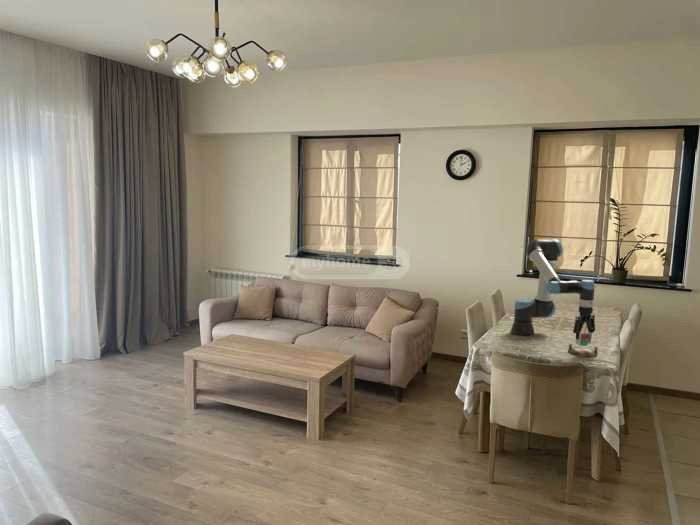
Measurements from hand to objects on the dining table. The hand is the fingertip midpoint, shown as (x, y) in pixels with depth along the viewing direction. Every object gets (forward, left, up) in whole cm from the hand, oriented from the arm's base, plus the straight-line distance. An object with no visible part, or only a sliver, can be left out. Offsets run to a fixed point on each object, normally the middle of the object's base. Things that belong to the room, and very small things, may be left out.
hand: (583, 343), depth 312 cm
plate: (0, 0, -6) cm, 6 cm away
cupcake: (0, 0, -1) cm, 1 cm away
